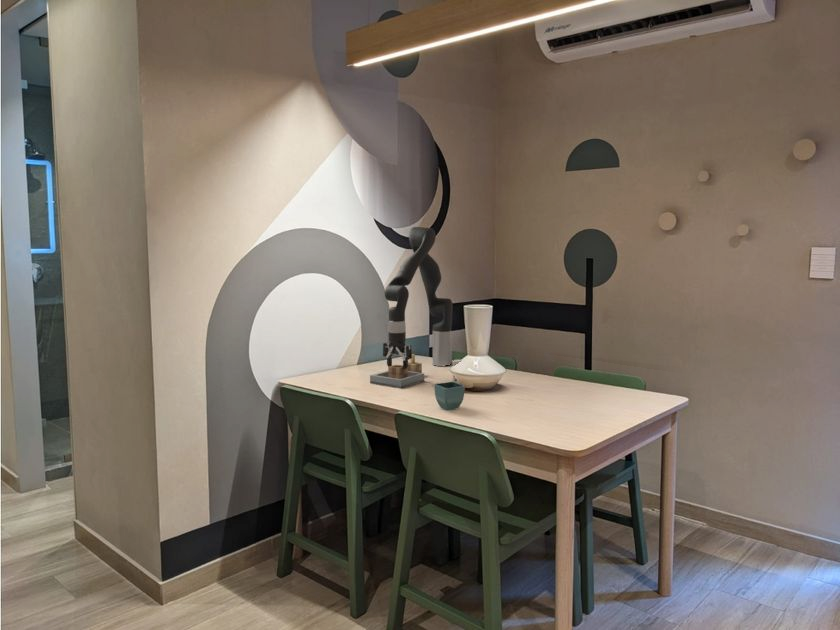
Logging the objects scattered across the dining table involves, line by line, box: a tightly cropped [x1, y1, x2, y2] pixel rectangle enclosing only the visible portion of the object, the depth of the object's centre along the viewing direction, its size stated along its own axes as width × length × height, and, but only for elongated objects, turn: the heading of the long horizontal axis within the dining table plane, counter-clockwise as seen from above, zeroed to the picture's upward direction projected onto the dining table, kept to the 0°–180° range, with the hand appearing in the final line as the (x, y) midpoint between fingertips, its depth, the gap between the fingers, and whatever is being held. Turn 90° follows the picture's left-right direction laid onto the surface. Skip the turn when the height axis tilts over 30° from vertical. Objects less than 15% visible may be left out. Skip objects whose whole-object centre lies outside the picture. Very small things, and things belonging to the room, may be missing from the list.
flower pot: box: [433, 381, 466, 411], centre depth 255 cm, size 9×9×9 cm
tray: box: [369, 370, 425, 389], centre depth 300 cm, size 17×17×4 cm
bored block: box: [387, 364, 408, 379], centre depth 300 cm, size 6×6×6 cm
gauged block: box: [408, 353, 423, 373], centre depth 312 cm, size 6×6×10 cm
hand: (397, 367), depth 299 cm, fingers open, 8 cm apart
